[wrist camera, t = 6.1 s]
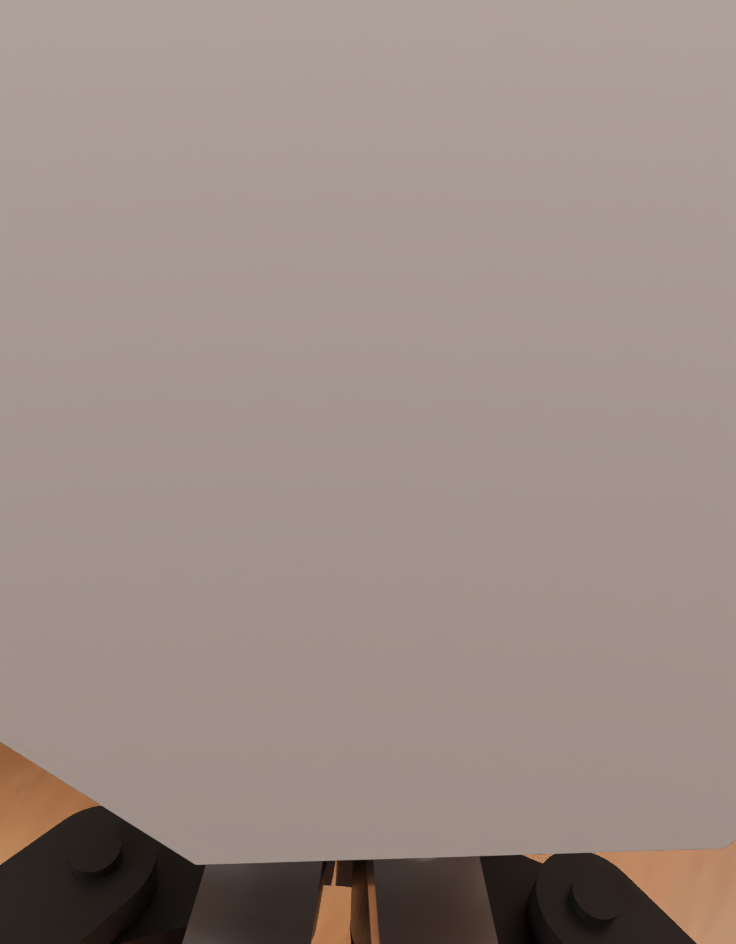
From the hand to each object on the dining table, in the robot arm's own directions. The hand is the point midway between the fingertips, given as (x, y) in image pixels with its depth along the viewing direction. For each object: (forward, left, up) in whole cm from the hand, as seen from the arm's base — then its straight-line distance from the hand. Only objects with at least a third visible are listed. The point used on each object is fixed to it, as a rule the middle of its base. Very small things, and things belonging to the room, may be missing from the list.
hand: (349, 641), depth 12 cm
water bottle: (0, +3, -15) cm, 15 cm away
